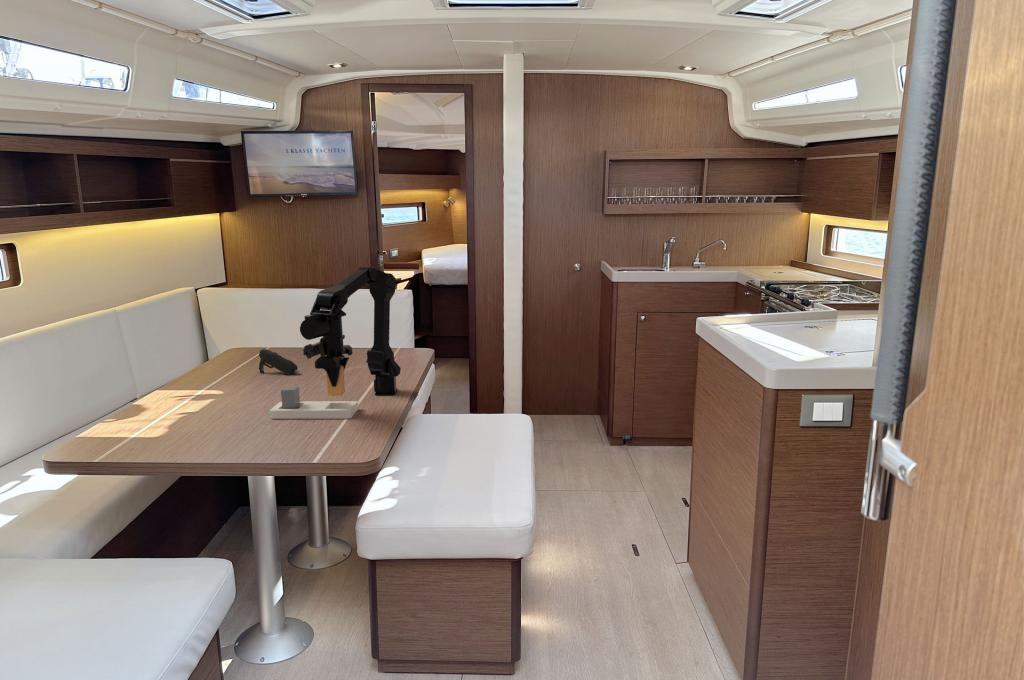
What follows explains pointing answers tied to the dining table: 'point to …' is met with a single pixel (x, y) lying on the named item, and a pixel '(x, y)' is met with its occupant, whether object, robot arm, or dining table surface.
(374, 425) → the dining table surface
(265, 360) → the gun
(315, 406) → the white slotted frame
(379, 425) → the dining table surface
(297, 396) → the gray plug
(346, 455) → the dining table surface
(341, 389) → the orange plug
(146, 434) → the dining table surface
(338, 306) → the robot arm
